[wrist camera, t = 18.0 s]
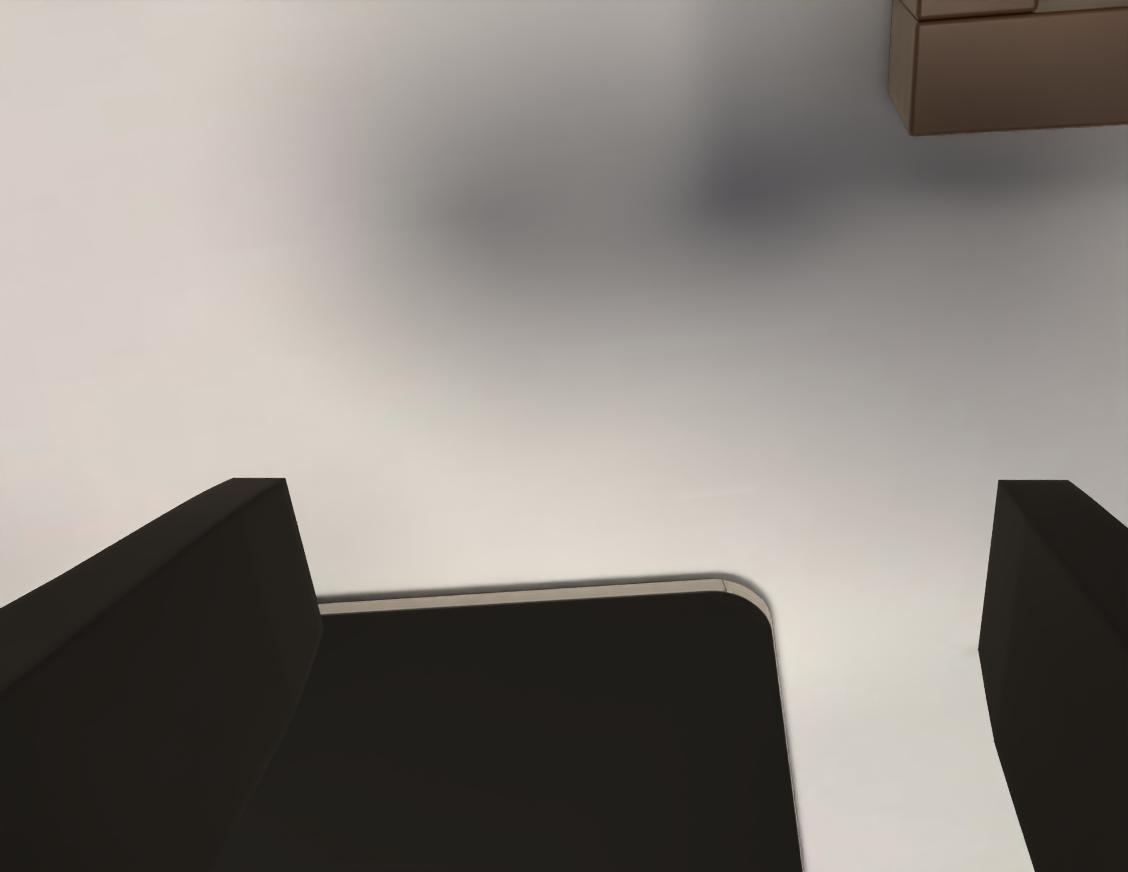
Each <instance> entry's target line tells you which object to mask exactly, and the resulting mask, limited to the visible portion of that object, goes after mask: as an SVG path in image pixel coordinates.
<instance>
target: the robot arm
mask: <svg viewBox="0 0 1128 872" xmlns="http://www.w3.org/2000/svg"><path fill="white" fill-rule="evenodd" d="M323 632H324V625H323V622H322V618H321V614H320V610H319V606H318V602H317V598H316V595H315V591H314V587H313V583H312V579H311V575H310V571H309V568H308V564H307V560H306V556H305V552H304V548H303V544H302V541H301V537H300V533H299V529H298V525H297V521H296V517H295V514H294V510H293V506H292V502H291V498H290V494H289V490H288V487H287V483H286V479H285V478H232V479H230V480H227V481H225V482H223V483H221V484H218V485H216V486H214V487H212V488H210V489H208V490H206V491H204V492H202V493H201V494H199V495H197V496H195V497H193V498H191V499H190V500H188V501H186V502H184V503H182V504H181V505H179V506H177V507H175V508H174V509H172V510H170V511H168V512H167V513H165V514H163V515H162V516H160V517H158V518H156V519H155V520H153V521H151V522H150V523H148V524H146V525H145V526H143V527H141V528H140V529H138V530H136V531H135V532H133V533H131V534H129V535H128V536H126V537H124V538H123V539H121V540H119V541H118V542H116V543H114V544H113V545H111V546H109V547H108V548H106V549H104V550H102V551H101V552H99V553H97V554H96V555H94V556H92V557H91V558H89V559H87V560H86V561H84V562H82V563H80V564H79V565H77V566H75V567H74V568H72V569H70V570H69V571H67V572H65V573H63V574H62V575H60V576H58V577H56V578H55V579H53V580H51V581H49V582H47V583H46V584H44V585H42V586H40V587H38V588H37V589H35V590H33V591H31V592H29V593H27V594H26V595H24V596H22V597H20V598H18V599H17V600H15V601H13V602H11V603H9V604H7V605H6V606H4V607H2V608H0V872H212V871H213V869H214V868H215V866H216V864H217V862H218V860H219V858H220V856H221V854H222V852H223V851H224V849H225V847H226V845H227V843H228V841H229V839H230V837H231V835H232V833H233V832H234V830H235V828H236V826H237V824H238V822H239V820H240V818H241V816H242V814H243V813H244V811H245V809H246V807H247V805H248V803H249V801H250V799H251V797H252V795H253V794H254V792H255V790H256V788H257V786H258V784H259V782H260V780H261V778H262V777H263V775H264V773H265V771H266V769H267V767H268V765H269V763H270V761H271V759H272V757H273V755H274V753H275V751H276V749H277V747H278V745H279V743H280V742H281V740H282V738H283V736H284V734H285V732H286V730H287V728H288V726H289V724H290V722H291V720H292V718H293V716H294V714H295V712H296V709H297V707H298V704H299V701H300V699H301V696H302V693H303V691H304V688H305V685H306V683H307V680H308V677H309V674H310V672H311V669H312V665H313V662H314V659H315V656H316V653H317V650H318V647H319V644H320V641H321V638H322V635H323ZM978 651H979V657H980V663H981V669H982V675H983V681H984V688H985V694H986V700H987V705H988V710H989V716H990V721H991V727H992V732H993V737H994V743H995V746H996V749H997V753H998V756H999V759H1000V762H1001V766H1002V769H1003V772H1004V775H1005V779H1006V782H1007V785H1008V788H1009V791H1010V795H1011V798H1012V801H1013V804H1014V807H1015V811H1016V814H1017V817H1018V820H1019V823H1020V826H1021V830H1022V833H1023V836H1024V839H1025V842H1026V845H1027V848H1028V852H1029V855H1030V858H1031V861H1032V864H1033V867H1034V870H1035V872H1128V528H1127V527H1126V526H1125V525H1123V524H1122V523H1121V522H1120V521H1119V520H1117V519H1116V518H1115V517H1114V516H1112V515H1111V514H1110V513H1109V512H1108V511H1106V510H1105V509H1104V508H1103V507H1102V506H1100V505H1099V504H1098V503H1097V502H1096V501H1094V500H1093V499H1092V498H1091V497H1089V496H1088V495H1087V494H1086V493H1084V492H1083V491H1082V490H1081V489H1079V488H1078V487H1077V486H1075V485H1074V484H1073V483H1071V482H1070V481H1069V480H998V489H997V497H996V505H995V514H994V522H993V530H992V539H991V547H990V555H989V563H988V572H987V580H986V588H985V597H984V605H983V613H982V622H981V630H980V638H979V647H978Z"/></svg>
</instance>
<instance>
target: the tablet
mask: <svg viewBox="0 0 1128 872" xmlns="http://www.w3.org/2000/svg"><path fill="white" fill-rule="evenodd" d="M318 606H319V610H320V614H321V618H322V622H323V625H324V632H323V635H322V638H321V641H320V644H319V647H318V650H317V653H316V656H315V659H314V662H313V665H312V669H311V672H310V674H309V677H308V680H307V683H306V685H305V688H304V691H303V693H302V696H301V699H300V701H299V704H298V707H297V709H296V712H295V714H294V716H293V718H292V720H291V722H290V724H289V726H288V728H287V730H286V732H285V734H284V736H283V738H282V740H281V742H280V743H279V745H278V747H277V749H276V751H275V753H274V755H273V757H272V759H271V761H270V763H269V765H268V767H267V769H266V771H265V773H264V775H263V777H262V778H261V780H260V782H259V784H258V786H257V788H256V790H255V792H254V794H253V795H252V797H251V799H250V801H249V803H248V805H247V807H246V809H245V811H244V813H243V814H242V816H241V818H240V820H239V822H238V824H237V826H236V828H235V830H234V832H233V833H232V835H231V837H230V839H229V841H228V843H227V845H226V847H225V849H224V851H223V852H222V854H221V856H220V858H219V860H218V862H217V864H216V866H215V868H214V869H213V871H212V872H804V870H803V862H802V854H801V847H800V839H799V831H798V823H797V815H796V807H795V799H794V791H793V783H792V775H791V767H790V760H789V752H788V744H787V736H786V728H785V720H784V712H783V704H782V696H781V688H780V680H779V673H778V665H777V657H776V649H775V641H774V633H773V625H772V618H771V614H770V611H769V609H768V607H767V605H766V604H765V602H764V601H763V600H762V599H761V598H760V597H759V596H758V595H757V594H756V593H755V592H753V591H752V590H751V589H749V588H747V587H745V586H743V585H741V584H738V583H736V582H732V581H728V580H722V579H705V580H689V581H673V582H657V583H642V584H626V585H610V586H595V587H579V588H563V589H547V590H532V591H516V592H500V593H484V594H469V595H453V596H437V597H422V598H406V599H390V600H374V601H359V602H343V603H327V604H318Z"/></svg>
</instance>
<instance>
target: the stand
mask: <svg viewBox="0 0 1128 872" xmlns="http://www.w3.org/2000/svg"><path fill="white" fill-rule="evenodd" d="M888 93H889V95H890V97H891V99H892V101H893V103H894V105H895V107H896V109H897V111H898V113H899V115H900V117H901V119H902V121H903V123H904V125H905V127H906V129H907V131H908V133H909V135H910V136H913V137H918V136H936V135H954V134H972V133H990V132H1008V131H1026V130H1045V129H1063V128H1081V127H1099V126H1117V125H1128V0H893V3H892V22H891V42H890V62H889V81H888Z"/></svg>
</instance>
